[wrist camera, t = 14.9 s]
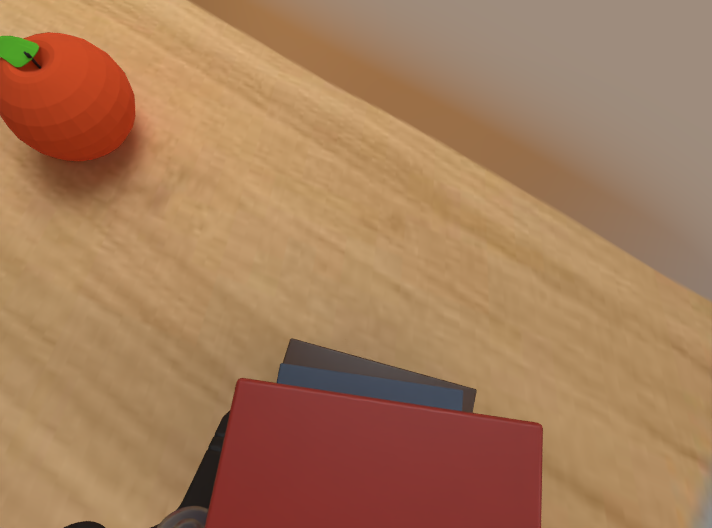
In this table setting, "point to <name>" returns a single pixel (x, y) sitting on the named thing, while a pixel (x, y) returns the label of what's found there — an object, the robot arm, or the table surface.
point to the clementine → (64, 96)
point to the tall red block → (371, 464)
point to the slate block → (371, 386)
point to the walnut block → (364, 368)
